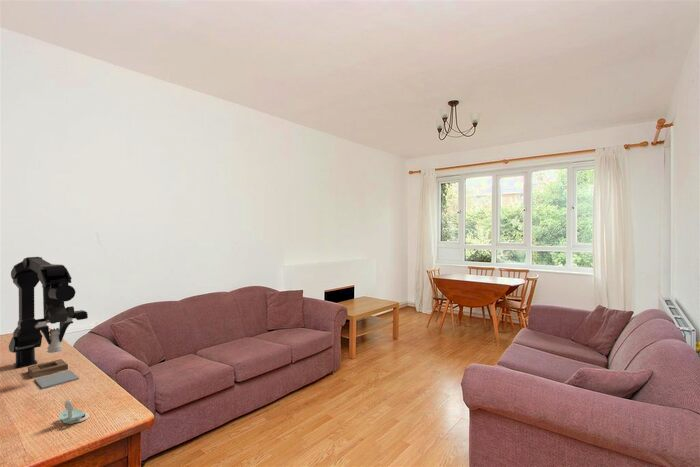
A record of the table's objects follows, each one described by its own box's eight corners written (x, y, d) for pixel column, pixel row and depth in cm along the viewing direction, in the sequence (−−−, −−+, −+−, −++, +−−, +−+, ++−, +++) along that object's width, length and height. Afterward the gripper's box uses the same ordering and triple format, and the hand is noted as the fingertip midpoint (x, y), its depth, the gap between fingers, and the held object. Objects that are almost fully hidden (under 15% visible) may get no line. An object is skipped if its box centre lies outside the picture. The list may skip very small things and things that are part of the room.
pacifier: (83, 412, 100) (57, 421, 96) (84, 390, 100) (57, 398, 96) (92, 420, 96) (65, 429, 91) (93, 397, 96) (65, 405, 91)
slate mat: (34, 380, 124) (34, 378, 124) (70, 371, 131) (70, 370, 131) (42, 389, 116) (42, 387, 116) (79, 379, 124) (79, 377, 124)
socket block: (27, 371, 132) (27, 366, 132) (61, 363, 140) (61, 358, 140) (33, 378, 125) (33, 372, 125) (67, 369, 133) (67, 364, 133)
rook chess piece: (53, 353, 123) (53, 330, 123) (43, 353, 124) (43, 330, 124) (66, 349, 127) (65, 327, 127) (56, 349, 128) (55, 327, 128)
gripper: (22, 306, 113) (24, 354, 113) (91, 297, 128) (92, 339, 128) (16, 303, 120) (18, 348, 120) (82, 295, 135) (83, 335, 135)
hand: (54, 343), depth 126 cm, fingers closed on rook chess piece, 3 cm apart
